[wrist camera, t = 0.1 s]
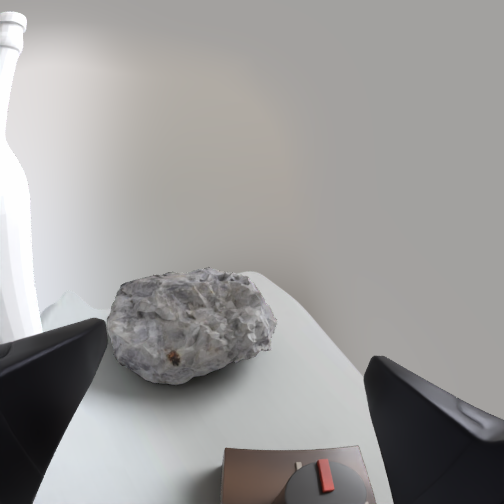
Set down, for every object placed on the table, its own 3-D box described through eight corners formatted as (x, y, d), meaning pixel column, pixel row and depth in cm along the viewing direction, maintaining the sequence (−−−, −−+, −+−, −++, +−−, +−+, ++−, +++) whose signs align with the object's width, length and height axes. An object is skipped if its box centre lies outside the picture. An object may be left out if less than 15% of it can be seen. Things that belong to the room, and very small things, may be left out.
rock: (252, 299, 40) (262, 239, 35) (289, 385, 29) (315, 324, 24) (122, 308, 35) (111, 244, 30) (121, 405, 23) (93, 346, 18)
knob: (344, 536, 9) (377, 516, 8) (270, 544, 9) (289, 531, 7) (333, 483, 13) (359, 454, 12) (267, 487, 13) (282, 460, 11)
